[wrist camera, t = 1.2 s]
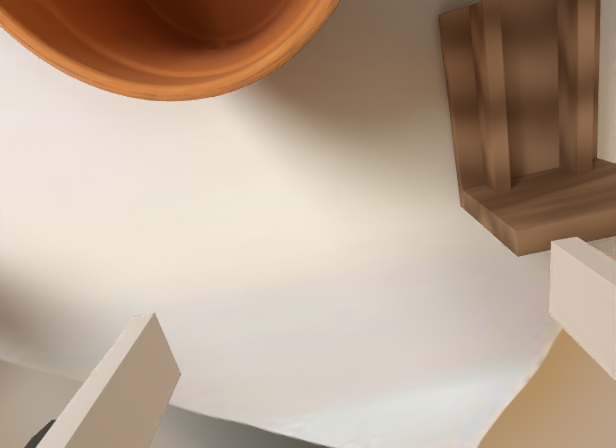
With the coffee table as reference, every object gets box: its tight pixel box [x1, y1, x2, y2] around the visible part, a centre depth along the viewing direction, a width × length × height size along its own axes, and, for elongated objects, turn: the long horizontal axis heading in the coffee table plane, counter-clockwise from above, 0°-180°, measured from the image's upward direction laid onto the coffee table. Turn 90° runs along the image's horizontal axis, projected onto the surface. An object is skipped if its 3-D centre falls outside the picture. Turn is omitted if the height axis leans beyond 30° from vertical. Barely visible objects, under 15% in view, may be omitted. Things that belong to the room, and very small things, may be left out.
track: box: [439, 0, 616, 256], centre depth 28 cm, size 17×12×11 cm
